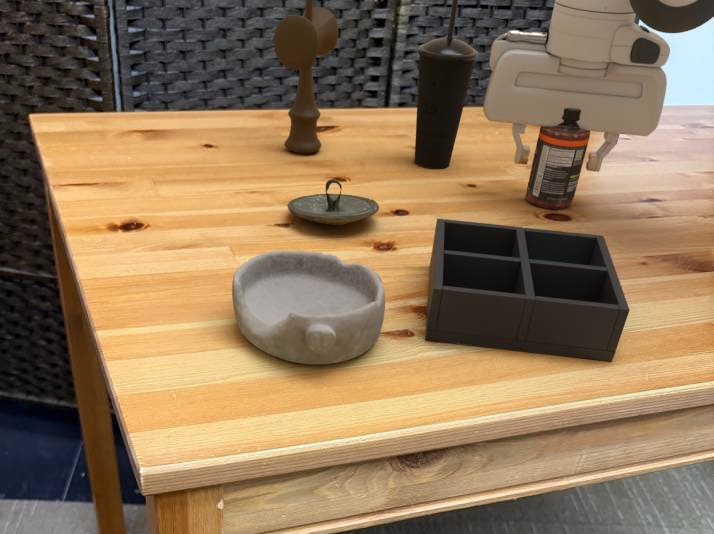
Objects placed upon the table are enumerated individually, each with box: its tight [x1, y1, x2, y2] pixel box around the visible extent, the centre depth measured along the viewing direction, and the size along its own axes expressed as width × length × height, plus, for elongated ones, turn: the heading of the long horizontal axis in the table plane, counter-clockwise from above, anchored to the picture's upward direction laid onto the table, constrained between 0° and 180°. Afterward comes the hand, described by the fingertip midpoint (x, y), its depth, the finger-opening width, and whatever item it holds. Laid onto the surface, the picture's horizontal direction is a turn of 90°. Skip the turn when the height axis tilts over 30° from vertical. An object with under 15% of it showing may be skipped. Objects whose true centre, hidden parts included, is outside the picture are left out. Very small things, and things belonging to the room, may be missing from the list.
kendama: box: [273, 0, 340, 154], centre depth 107 cm, size 6×10×20 cm, turn 160°
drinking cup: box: [414, 0, 479, 170], centre depth 105 cm, size 8×8×20 cm
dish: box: [231, 250, 386, 365], centre depth 72 cm, size 14×14×5 cm
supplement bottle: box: [525, 108, 591, 210], centre depth 99 cm, size 6×6×11 cm
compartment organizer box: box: [424, 218, 630, 362], centre depth 78 cm, size 17×17×5 cm
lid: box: [286, 178, 380, 227], centre depth 93 cm, size 11×10×5 cm
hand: (556, 166), depth 100 cm, fingers open, 7 cm apart
